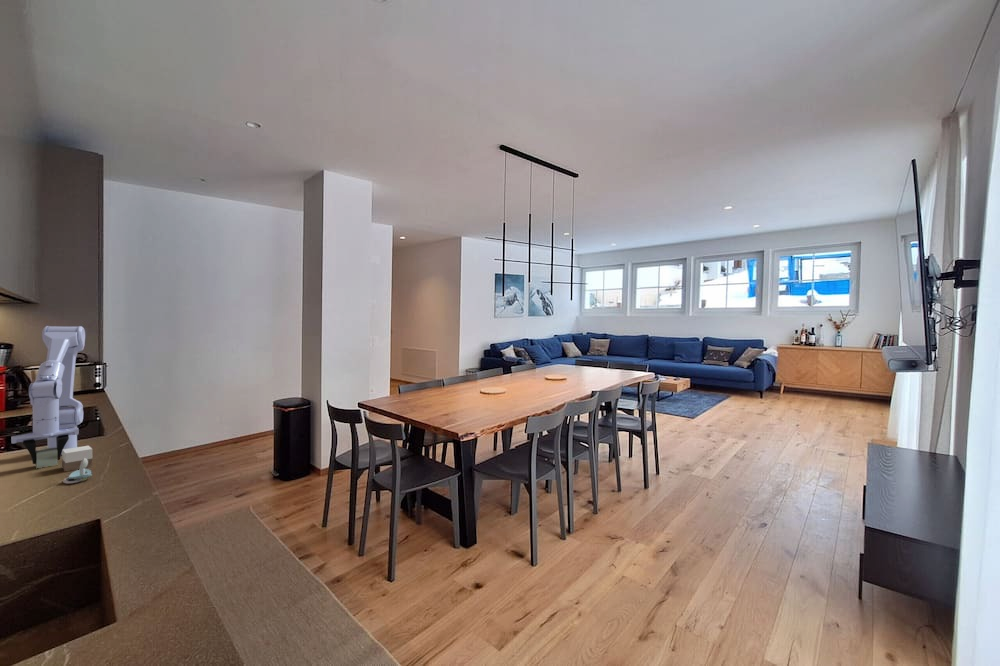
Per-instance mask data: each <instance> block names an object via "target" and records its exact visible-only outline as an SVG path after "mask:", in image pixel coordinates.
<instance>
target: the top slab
mask: <svg viewBox="0 0 1000 666" xmlns="http://www.w3.org/2000/svg"><path fill="white" fill-rule="evenodd" d="M61 456H62V458H61V460H62V459H63V461H64V462H65V463H69V462H75V461H80V460H82V459H83V458H86V459H92V460H93V448H92V447H91V446H90V445H85V446H77V447H76V448H69V449H63V450H62V455H61Z"/></svg>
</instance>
